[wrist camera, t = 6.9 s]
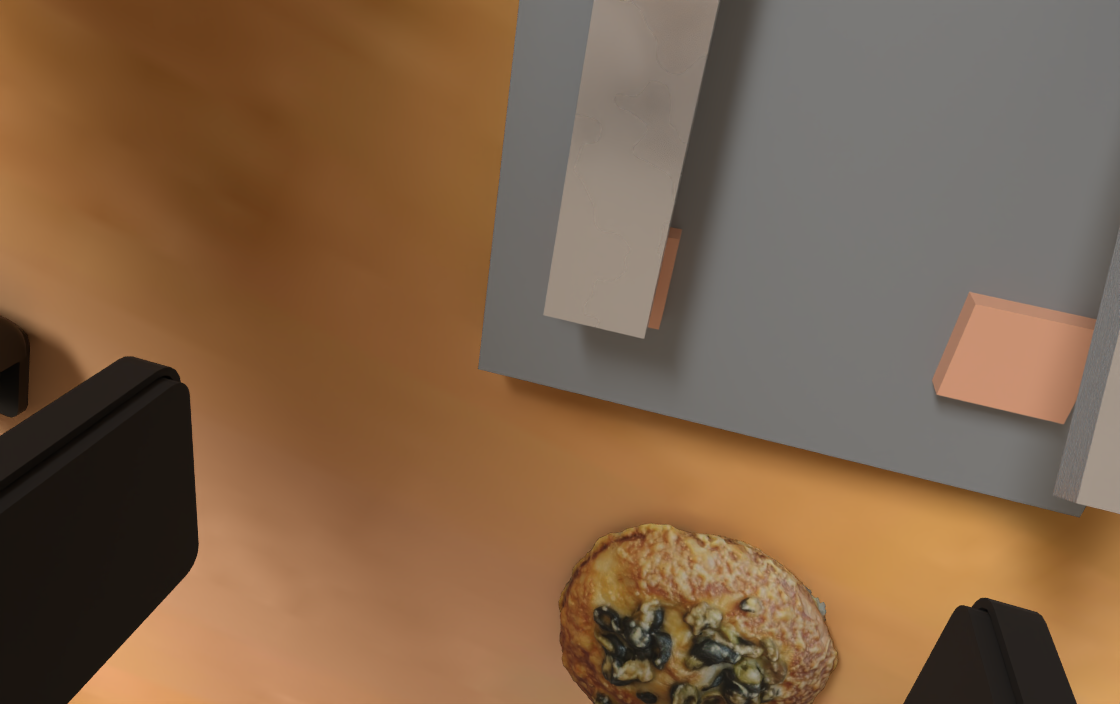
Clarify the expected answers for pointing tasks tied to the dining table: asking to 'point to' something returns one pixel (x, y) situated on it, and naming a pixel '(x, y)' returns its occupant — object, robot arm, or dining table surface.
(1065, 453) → the strap
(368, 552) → the dining table surface
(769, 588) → the bread roll
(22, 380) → the end cap
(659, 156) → the strap
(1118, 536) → the dining table surface
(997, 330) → the clamp board
